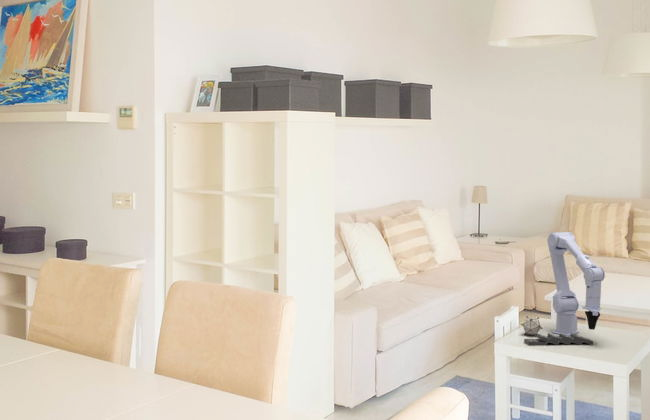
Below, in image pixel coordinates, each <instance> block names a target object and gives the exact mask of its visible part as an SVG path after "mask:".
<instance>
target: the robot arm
mask: <svg viewBox="0 0 650 420" xmlns="http://www.w3.org/2000/svg"><path fill="white" fill-rule="evenodd" d="M547 246H548V251H549V254H550V258H551V259H550V260H551V265H552V270H553V276H554V282H555V286H556V293H554V295H553V296H552V308H553V310H554V313H556V321H555V323H556V325H555V326H556V327H555V330H553V331H551V334H556V335H559V334H564V335H567V336H570V335H571V333H572V334H575V335H577V334H578V333H579V330H578V316H577V314H576V313H577V311H578V310H579V307H580V303H579V301H578V298H577V295H576V293H575V292H573V290H571V289H570V283H569V278H568V273H567V267H566V263H565V258H564V254H565V253H566V252H567V251H568V252H570V254H571V255H572V256H573V258H575V259H576V261H575V263H576V265H577V266H578V268H579V269H580V270H581V272H582V273H583V279H584V283H585V287H586V288H585V305H583V306H582V309H583V310H587V311H584V313H585V316H586V320H587V327H588V330H595V329H596V326H597V323H598V320H599V318H600V316H601V313H600V311H601V310H602V309H601V296H602V294H601V293H602V289H601V288H602V282H603V281H604V280H605V277H606V276H605V271H604V269H603V267H601V266H598V265H596V264H595V263H594V261H593V260H592V258H591V257H590V255H588V254H584V253H583V251H582V250H581V249H580V247H579V245H578V244H577V243H576V236H574V234H573V232H571V231H565V232H561V231H560V232H553V231H552V232H550V233H549V235H548V236H547Z"/></svg>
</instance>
